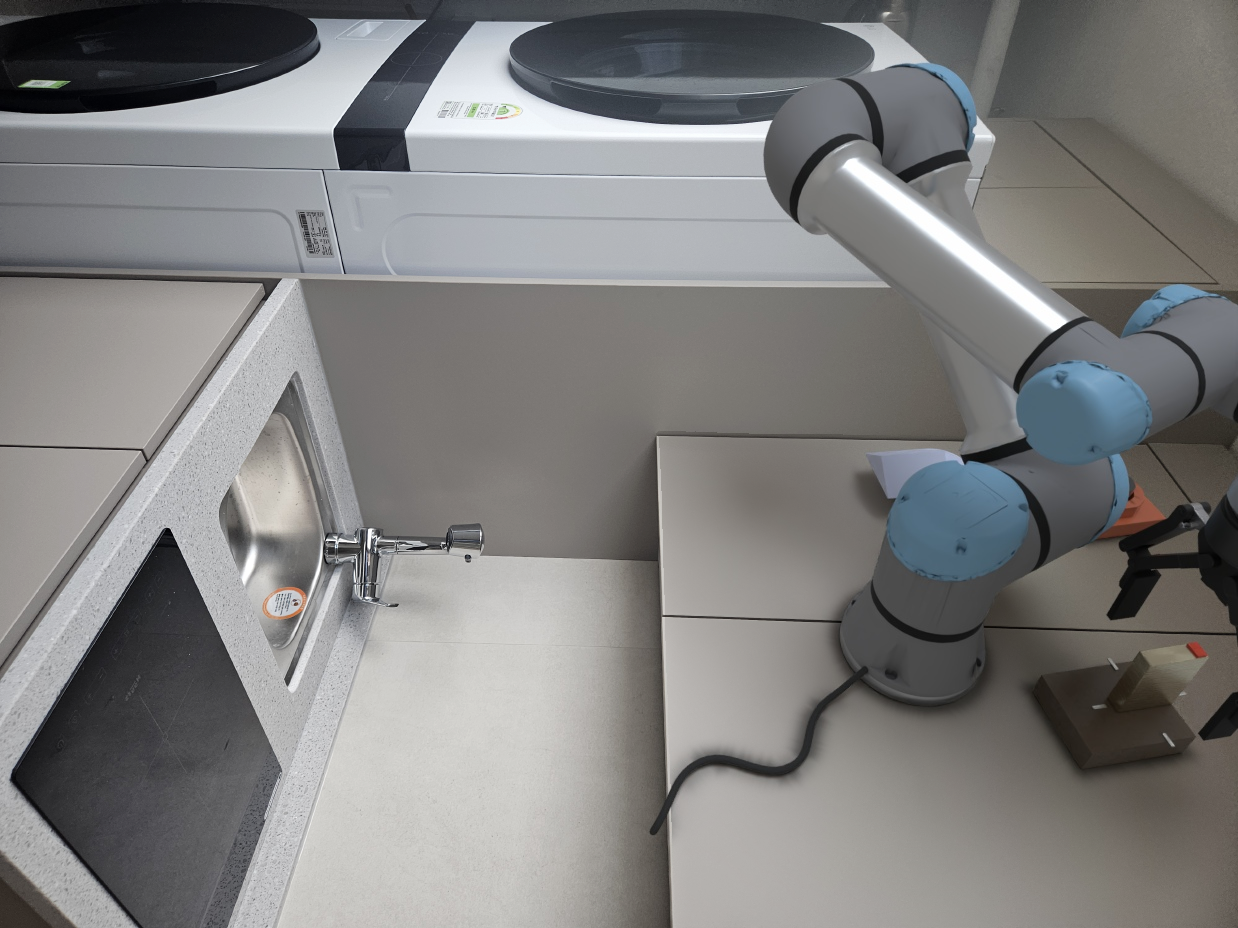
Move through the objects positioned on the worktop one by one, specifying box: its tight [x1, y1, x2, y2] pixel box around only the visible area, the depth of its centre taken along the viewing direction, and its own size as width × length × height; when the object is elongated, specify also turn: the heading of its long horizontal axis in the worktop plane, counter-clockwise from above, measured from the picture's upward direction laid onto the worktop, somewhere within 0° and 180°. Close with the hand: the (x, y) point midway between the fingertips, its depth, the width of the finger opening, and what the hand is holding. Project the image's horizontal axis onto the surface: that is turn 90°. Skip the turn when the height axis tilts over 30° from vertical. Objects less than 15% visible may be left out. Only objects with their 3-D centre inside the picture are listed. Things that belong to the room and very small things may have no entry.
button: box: [1128, 475, 1136, 499], centre depth 103 cm, size 4×4×2 cm
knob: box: [1107, 641, 1210, 712], centre depth 79 cm, size 6×2×8 cm, turn 99°
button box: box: [1096, 480, 1167, 540], centre depth 104 cm, size 10×9×4 cm
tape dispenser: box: [864, 447, 964, 499], centre depth 107 cm, size 9×7×13 cm
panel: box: [1032, 657, 1197, 770], centre depth 82 cm, size 13×10×3 cm
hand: (1164, 671), depth 78 cm, fingers open, 13 cm apart
